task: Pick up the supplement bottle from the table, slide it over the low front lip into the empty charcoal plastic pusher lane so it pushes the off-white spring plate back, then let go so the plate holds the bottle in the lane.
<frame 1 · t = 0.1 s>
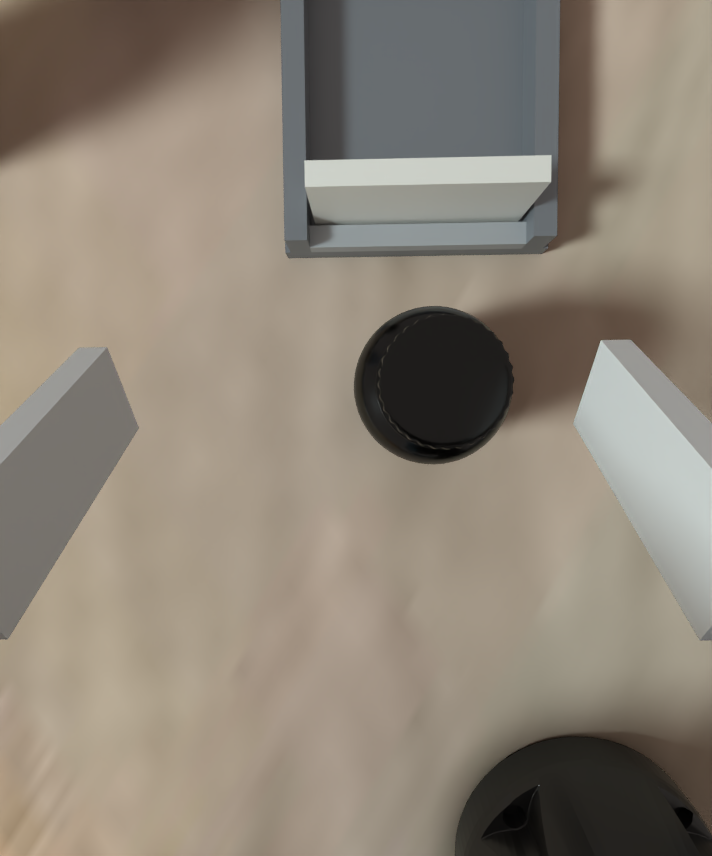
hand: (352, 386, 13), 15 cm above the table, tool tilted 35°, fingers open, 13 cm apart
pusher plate: (421, 194, 24), point 4 cm above the table, slide at 0.0 cm
pusher lane: (413, 81, 27), on the table
supplement bottle: (414, 390, 28), on the table
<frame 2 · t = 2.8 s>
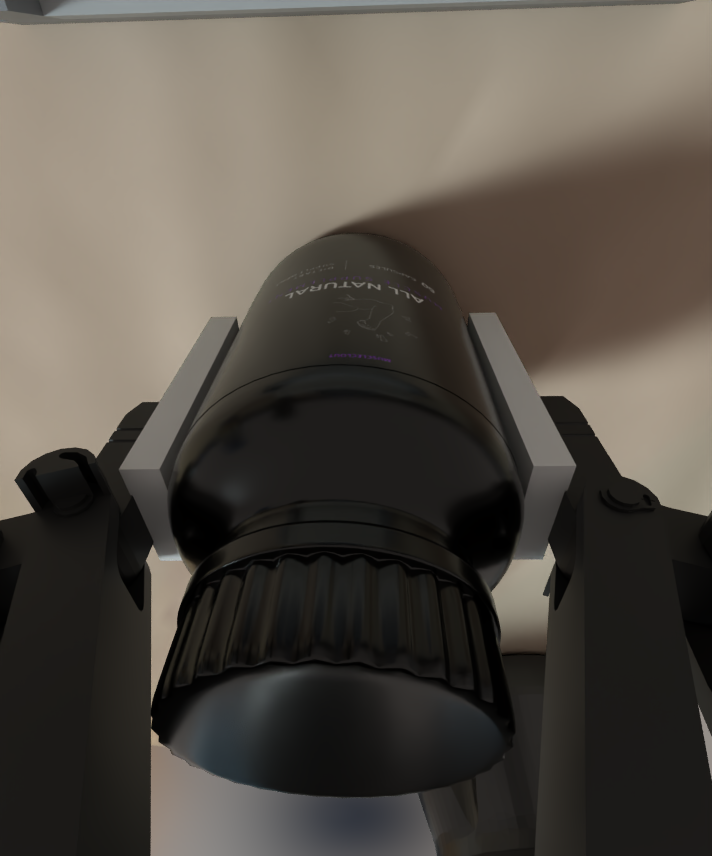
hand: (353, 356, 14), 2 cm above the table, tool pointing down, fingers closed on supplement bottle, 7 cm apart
supplement bottle: (354, 330, 16), on the table, touching gripper
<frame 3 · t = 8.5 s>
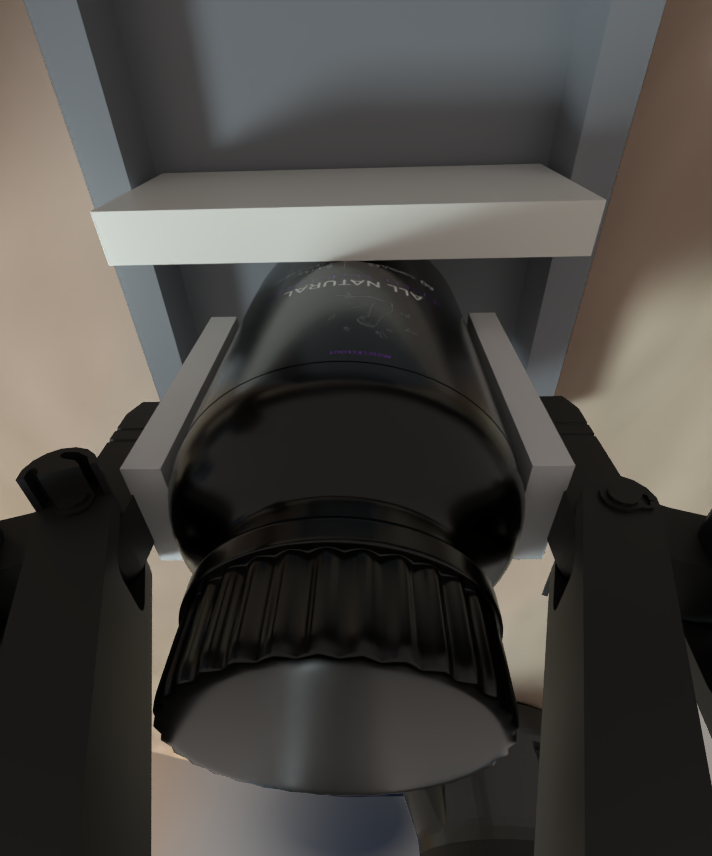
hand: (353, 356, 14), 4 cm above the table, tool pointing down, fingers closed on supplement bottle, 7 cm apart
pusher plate: (348, 209, 13), point 4 cm above the table, slide at 7.7 cm, touching supplement bottle
pusher lane: (350, 171, 15), on the table
supplement bottle: (353, 330, 16), point 3 cm above the table, touching gripper, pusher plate
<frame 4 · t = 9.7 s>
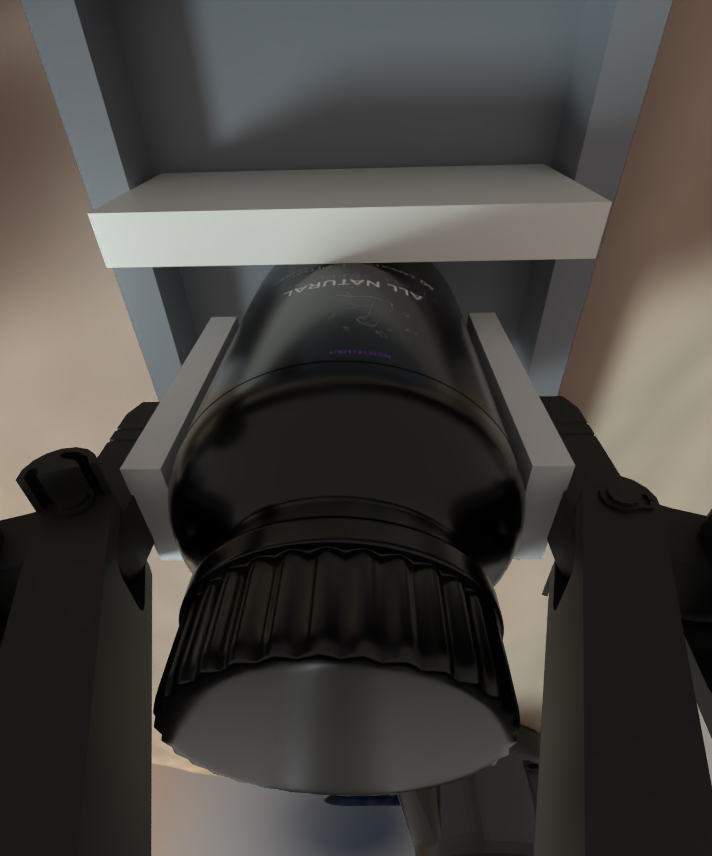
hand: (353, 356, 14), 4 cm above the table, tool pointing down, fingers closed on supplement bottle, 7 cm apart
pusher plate: (349, 210, 12), point 4 cm above the table, slide at 11.9 cm, touching supplement bottle
pusher lane: (355, 297, 18), on the table
supplement bottle: (352, 329, 16), point 3 cm above the table, touching gripper, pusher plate
when the fingers open (4 cm above the table, at t = 10.7 s): supplement bottle drops 1 cm, resting on pusher lane.
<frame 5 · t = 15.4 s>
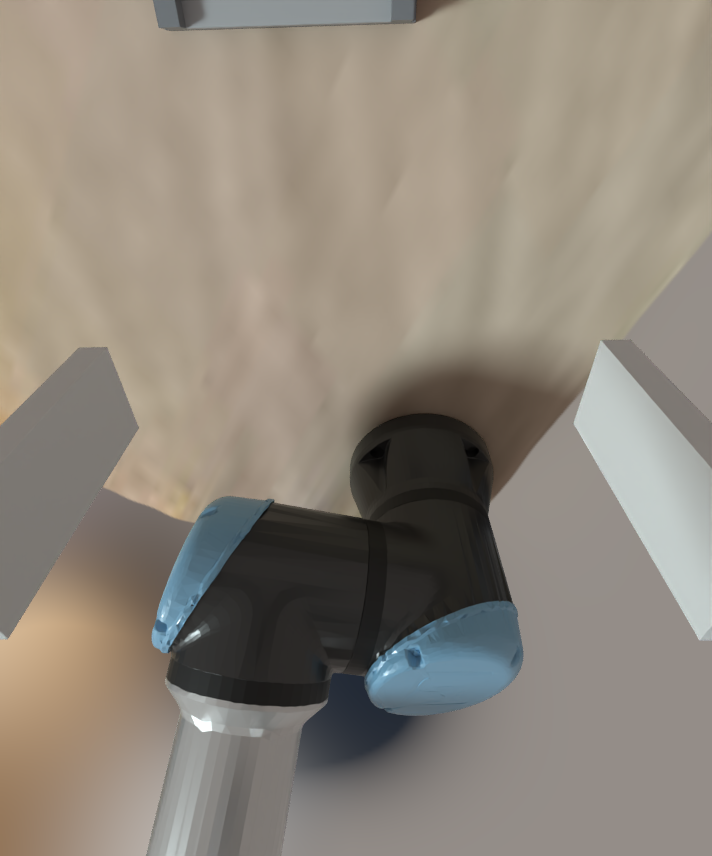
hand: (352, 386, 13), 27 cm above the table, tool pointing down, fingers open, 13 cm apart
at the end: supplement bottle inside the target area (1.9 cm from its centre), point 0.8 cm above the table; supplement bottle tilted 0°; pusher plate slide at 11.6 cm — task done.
